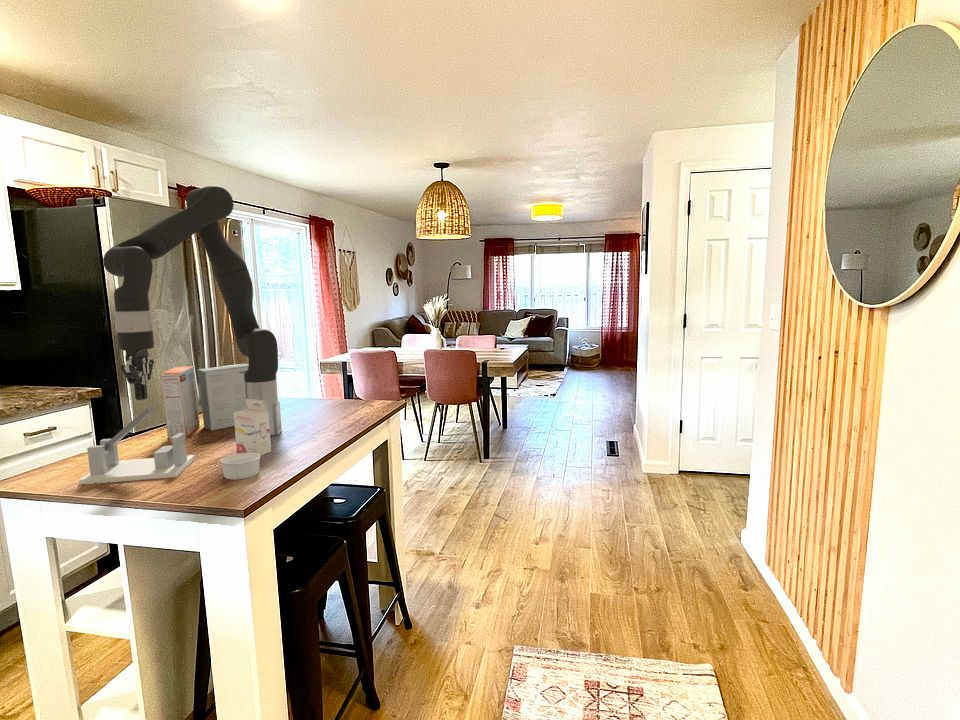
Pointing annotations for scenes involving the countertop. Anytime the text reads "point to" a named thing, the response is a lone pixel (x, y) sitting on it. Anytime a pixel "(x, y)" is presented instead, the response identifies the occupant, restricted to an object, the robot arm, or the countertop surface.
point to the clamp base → (137, 463)
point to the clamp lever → (128, 428)
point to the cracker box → (180, 401)
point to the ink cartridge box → (253, 428)
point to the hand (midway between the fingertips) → (141, 399)
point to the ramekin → (241, 465)
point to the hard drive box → (222, 394)
